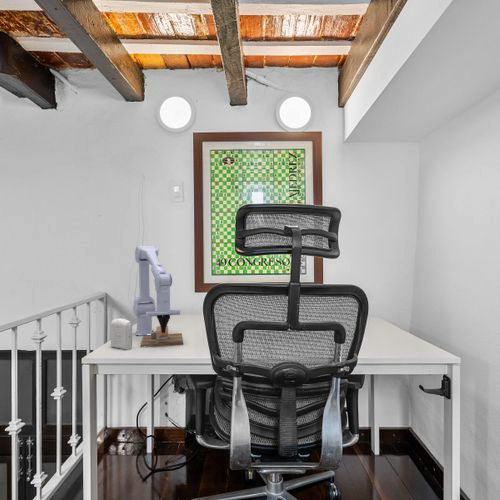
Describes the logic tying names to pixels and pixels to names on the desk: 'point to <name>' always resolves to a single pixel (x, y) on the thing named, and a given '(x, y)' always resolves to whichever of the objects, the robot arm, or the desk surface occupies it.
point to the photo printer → (121, 334)
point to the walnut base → (162, 340)
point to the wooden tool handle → (159, 333)
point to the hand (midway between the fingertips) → (163, 332)
